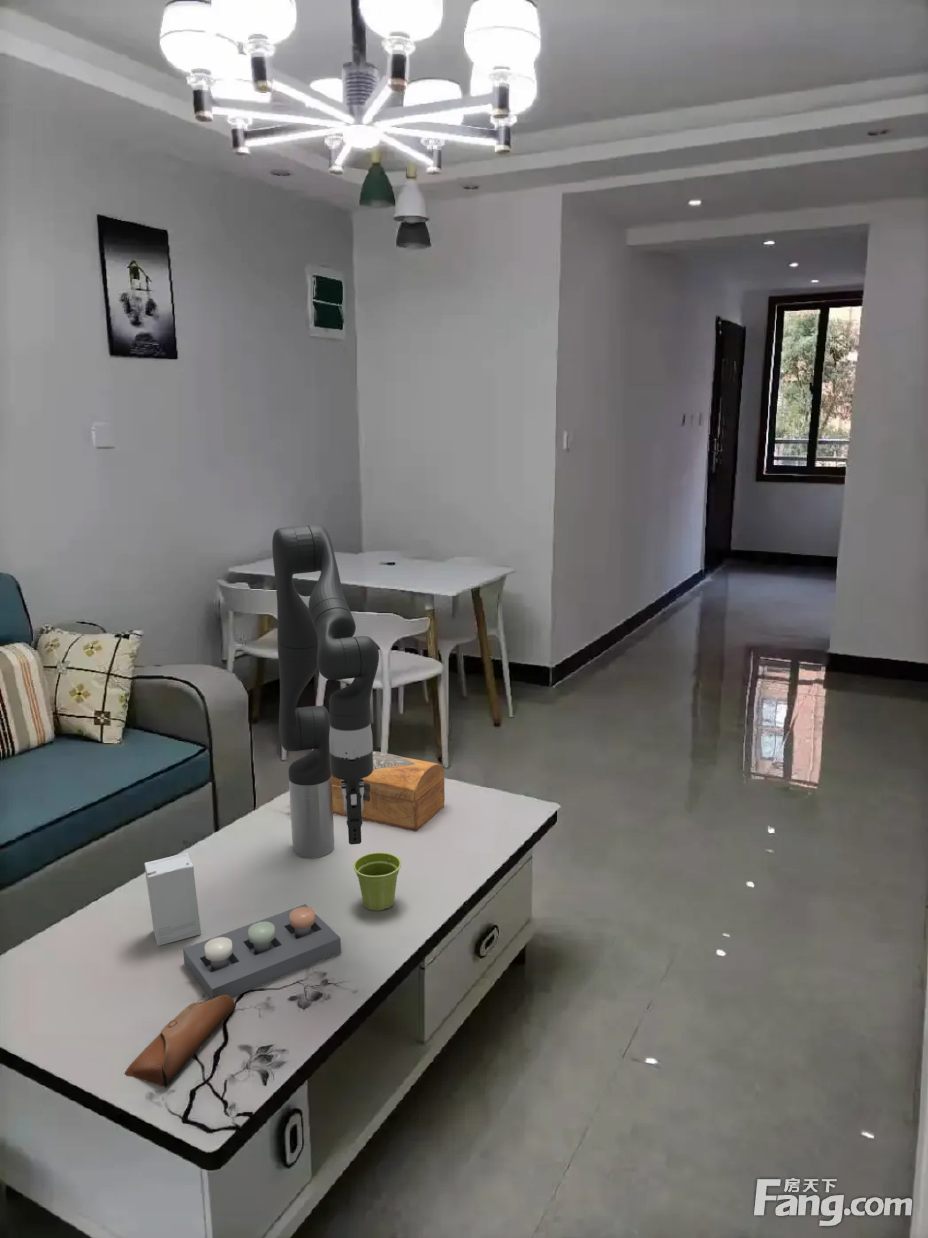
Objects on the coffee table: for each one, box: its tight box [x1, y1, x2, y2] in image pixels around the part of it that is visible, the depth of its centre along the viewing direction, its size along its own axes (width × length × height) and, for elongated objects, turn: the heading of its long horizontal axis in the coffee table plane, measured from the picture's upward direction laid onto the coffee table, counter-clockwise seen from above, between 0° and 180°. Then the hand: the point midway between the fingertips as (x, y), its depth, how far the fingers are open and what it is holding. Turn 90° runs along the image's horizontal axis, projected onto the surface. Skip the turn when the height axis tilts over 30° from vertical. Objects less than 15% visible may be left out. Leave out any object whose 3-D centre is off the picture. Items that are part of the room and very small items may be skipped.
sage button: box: [248, 921, 275, 955], centre depth 158 cm, size 5×5×4 cm
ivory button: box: [205, 937, 233, 972], centre depth 154 cm, size 5×5×4 cm
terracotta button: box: [289, 906, 316, 939], centre depth 163 cm, size 5×5×4 cm
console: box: [182, 903, 342, 1000], centre depth 159 cm, size 14×24×3 cm, turn 127°
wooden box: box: [331, 750, 446, 832], centre depth 217 cm, size 30×16×14 cm, turn 64°
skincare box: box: [144, 851, 202, 947], centre depth 165 cm, size 8×6×15 cm
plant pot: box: [352, 851, 402, 912], centre depth 176 cm, size 9×9×9 cm
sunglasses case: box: [124, 994, 236, 1089], centre depth 138 cm, size 18×7×7 cm
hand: (354, 831), depth 159 cm, fingers open, 8 cm apart
